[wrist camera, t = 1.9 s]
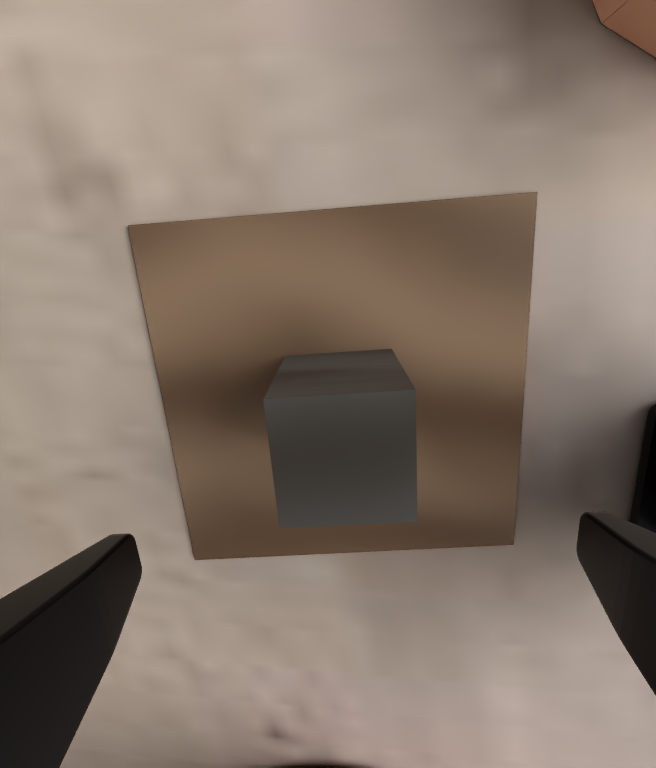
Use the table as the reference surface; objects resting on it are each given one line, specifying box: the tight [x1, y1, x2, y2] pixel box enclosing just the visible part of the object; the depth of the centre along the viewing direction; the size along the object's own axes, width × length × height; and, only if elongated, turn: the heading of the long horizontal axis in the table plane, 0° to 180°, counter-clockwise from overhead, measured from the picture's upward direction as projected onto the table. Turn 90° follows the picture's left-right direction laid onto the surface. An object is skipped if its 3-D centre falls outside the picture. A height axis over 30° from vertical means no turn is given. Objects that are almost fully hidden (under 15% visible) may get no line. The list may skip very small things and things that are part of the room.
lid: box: [128, 192, 537, 560], centre depth 14 cm, size 14×14×6 cm
